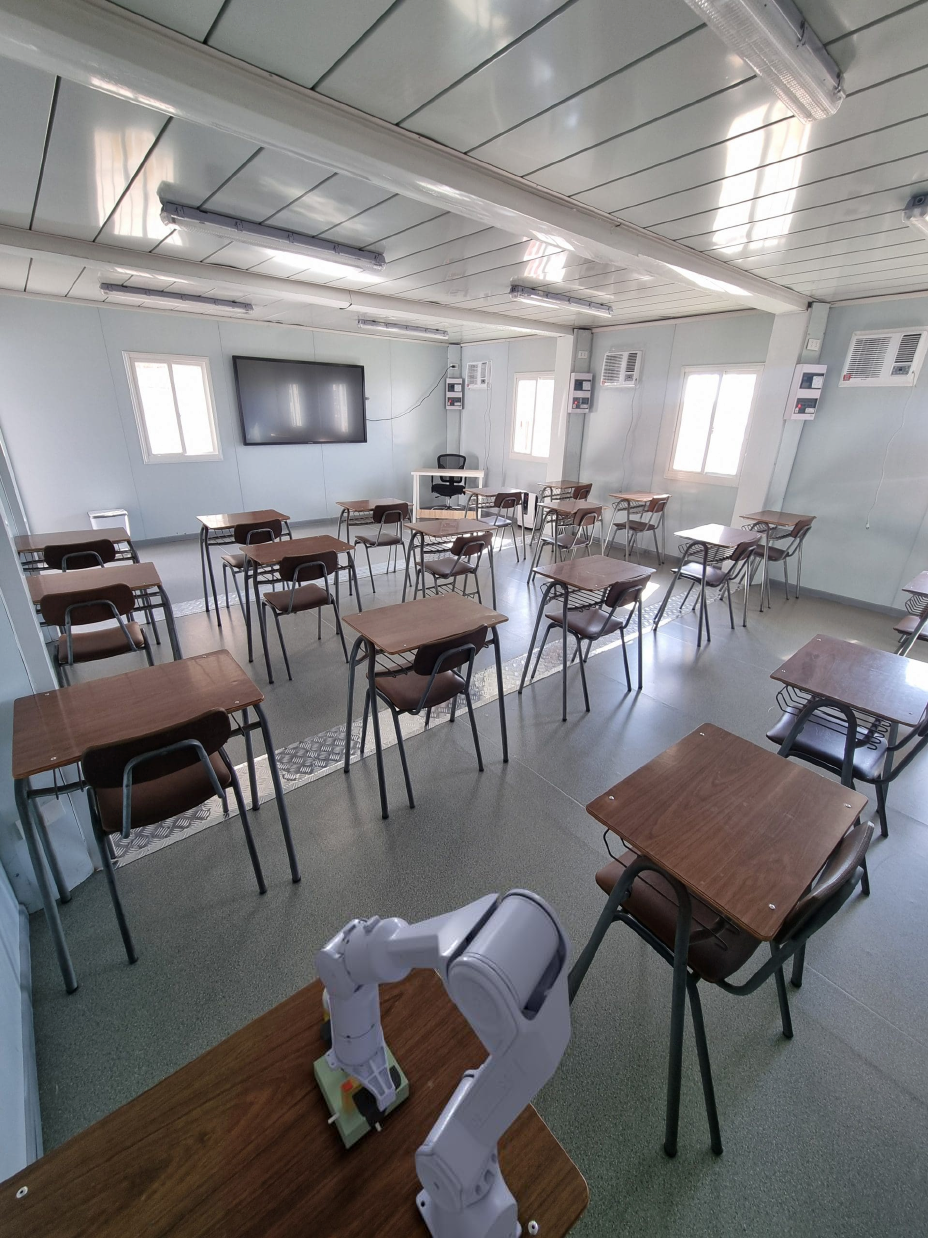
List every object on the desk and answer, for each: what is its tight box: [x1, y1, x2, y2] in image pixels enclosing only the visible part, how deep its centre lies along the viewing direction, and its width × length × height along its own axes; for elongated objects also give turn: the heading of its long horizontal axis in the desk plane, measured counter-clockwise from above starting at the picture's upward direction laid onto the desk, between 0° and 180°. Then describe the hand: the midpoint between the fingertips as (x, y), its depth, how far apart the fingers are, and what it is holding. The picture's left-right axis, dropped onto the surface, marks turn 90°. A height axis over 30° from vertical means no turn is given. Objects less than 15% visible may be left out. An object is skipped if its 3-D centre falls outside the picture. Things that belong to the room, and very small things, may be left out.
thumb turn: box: [340, 1077, 363, 1114], centre depth 64 cm, size 5×1×4 cm, turn 128°
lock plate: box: [312, 1041, 410, 1149], centre depth 67 cm, size 12×10×3 cm
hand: (362, 1090), depth 65 cm, fingers open, 7 cm apart
